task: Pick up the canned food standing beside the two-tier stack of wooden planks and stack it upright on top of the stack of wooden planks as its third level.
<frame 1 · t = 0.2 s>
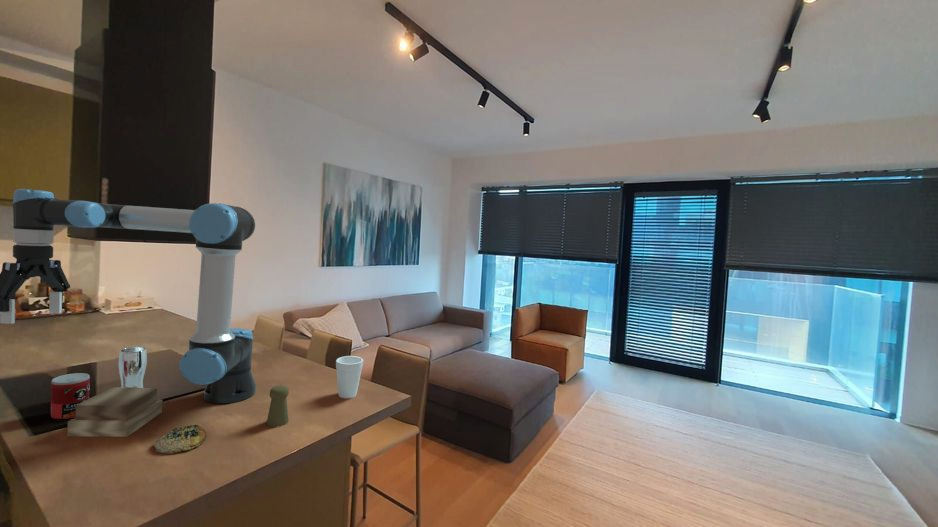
hand: (32, 318, 108), 27 cm above the worktop, tool pointing down, fingers open, 13 cm apart
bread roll: (181, 444, 100), on the worktop
foam cup: (347, 395, 137), on the worktop
beer glass: (131, 394, 125), on the worktop
green pawn: (277, 422, 114), on the worktop
canned food: (70, 415, 109), on the worktop
stack of wooden planks: (118, 423, 106), on the worktop
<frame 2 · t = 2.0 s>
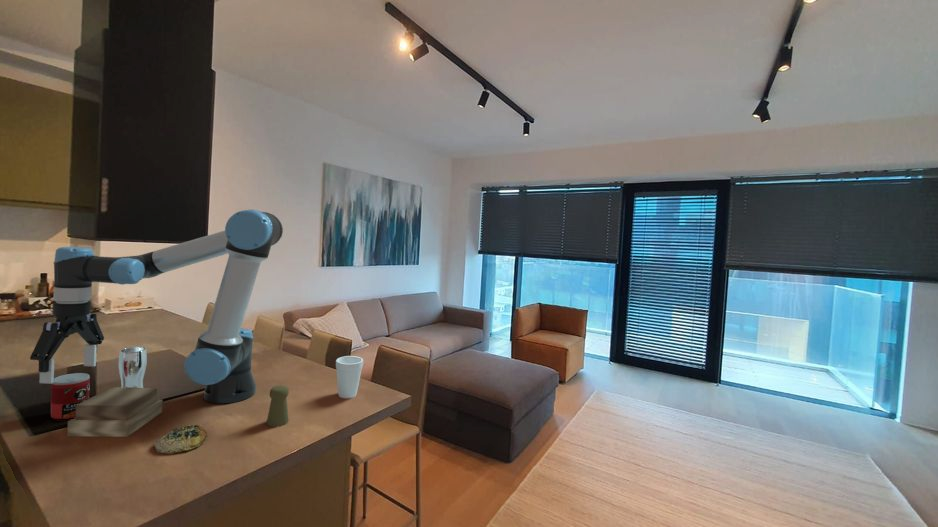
hand: (69, 373, 108), 12 cm above the worktop, tool pointing down, fingers open, 13 cm apart
nothing on the worktop moved.
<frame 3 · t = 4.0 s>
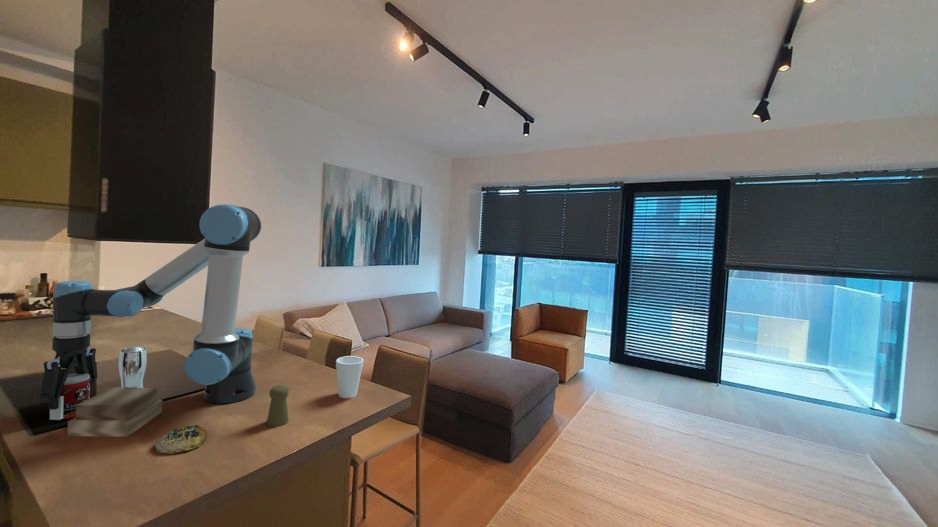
hand: (70, 412, 109), 1 cm above the worktop, tool pointing down, fingers closed on canned food, 8 cm apart
canned food: (70, 415, 109), on the worktop, touching gripper
everything else where it was.
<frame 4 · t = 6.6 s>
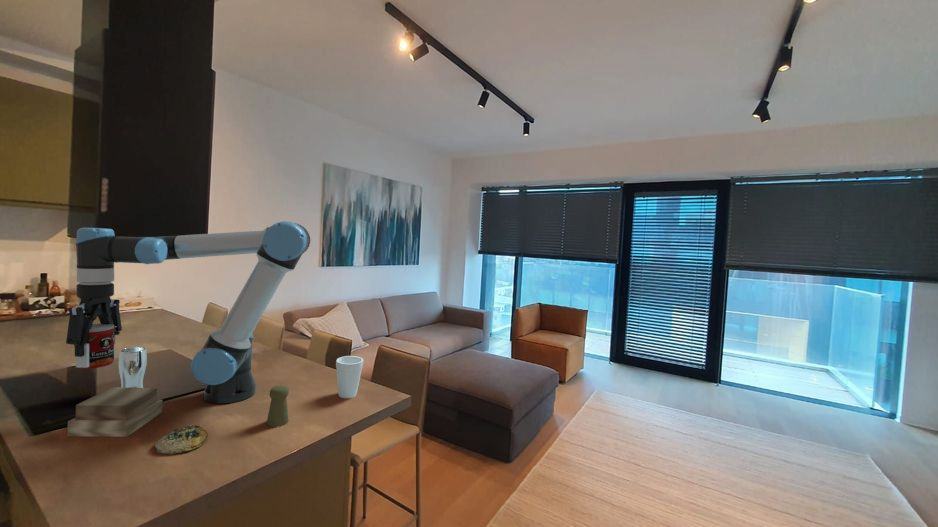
hand: (96, 361, 107), 17 cm above the worktop, tool pointing down, fingers closed on canned food, 8 cm apart
canned food: (95, 365, 107), point 16 cm above the worktop, touching gripper
everything else where it was.
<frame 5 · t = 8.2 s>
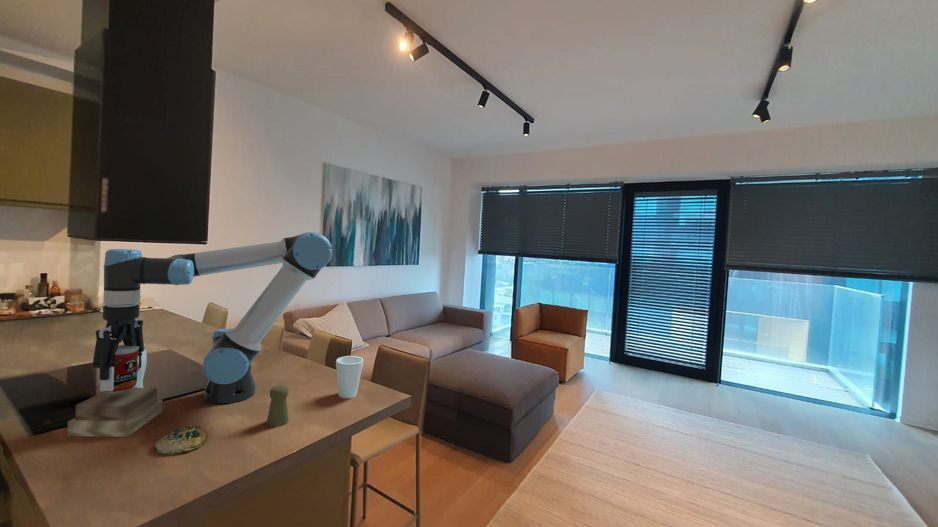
hand: (119, 384, 106), 11 cm above the worktop, tool pointing down, fingers closed on canned food, 8 cm apart
canned food: (118, 387, 106), point 11 cm above the worktop, touching gripper
everything else where it was.
when the fingers open (10 cm above the worktop, at t = 9.3 s): canned food drops 1 cm, resting on stack of wooden planks.
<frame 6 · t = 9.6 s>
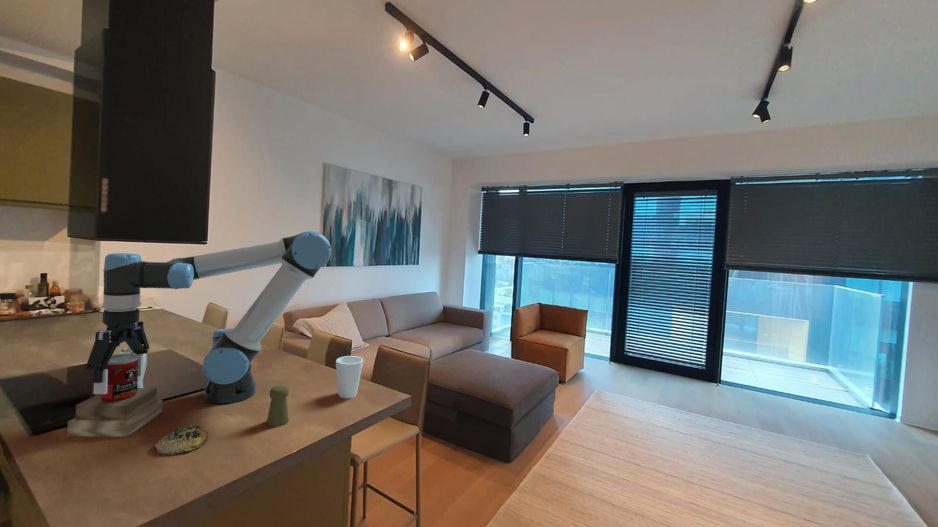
hand: (119, 384, 106), 11 cm above the worktop, tool pointing down, fingers open, 12 cm apart
canned food: (119, 396, 106), point 8 cm above the worktop, touching stack of wooden planks
everything else where it was.
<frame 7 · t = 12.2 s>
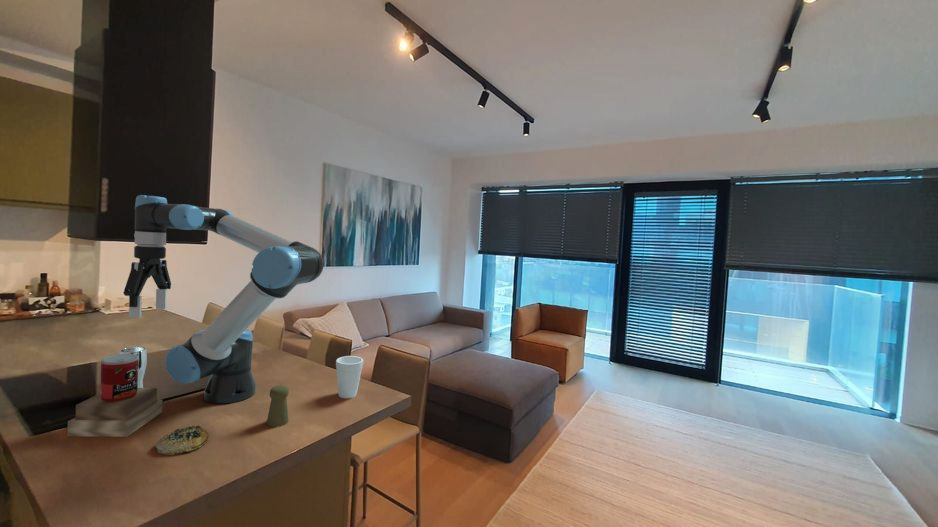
hand: (148, 313, 118), 29 cm above the worktop, tool pointing down, fingers open, 13 cm apart
nothing on the worktop moved.
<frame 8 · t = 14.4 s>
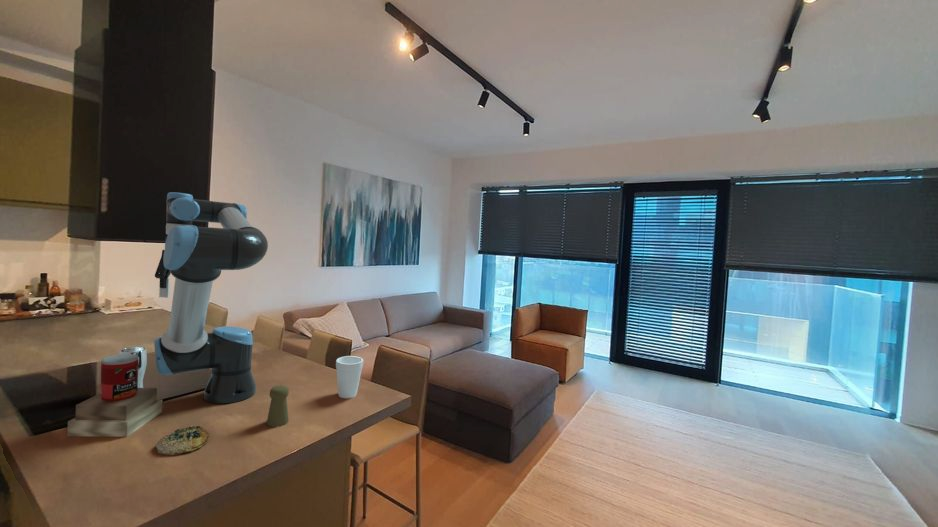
hand: (176, 294, 136), 32 cm above the worktop, tool pointing down, fingers open, 13 cm apart
at the end: canned food inside the target area on the stack of wooden planks (0.0 cm from its centre), point 7.8 cm above the stack of wooden planks's base; canned food tilted 0°; the gripper is holding nothing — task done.
